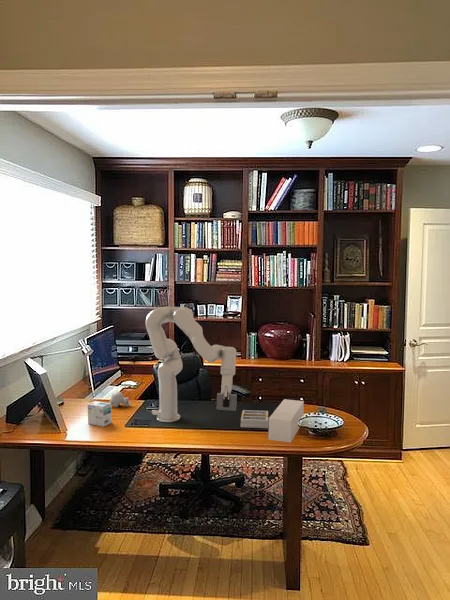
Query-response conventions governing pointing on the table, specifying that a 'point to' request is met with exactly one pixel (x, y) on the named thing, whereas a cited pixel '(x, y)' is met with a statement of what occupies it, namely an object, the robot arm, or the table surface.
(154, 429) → the table surface
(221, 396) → the panel
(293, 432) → the grey rectangular block
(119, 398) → the round bodied animal figurine
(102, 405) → the light bulb box
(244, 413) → the rack
